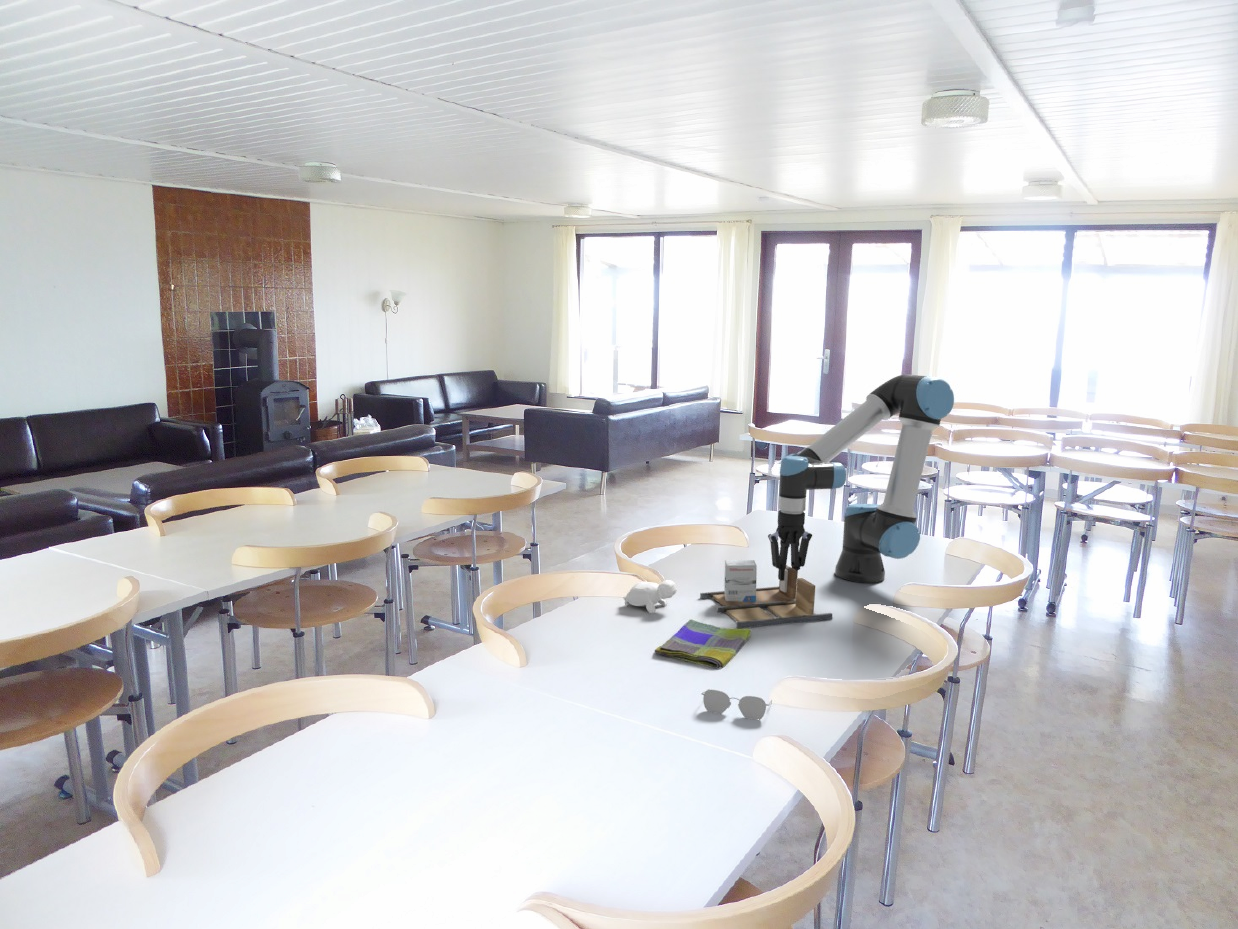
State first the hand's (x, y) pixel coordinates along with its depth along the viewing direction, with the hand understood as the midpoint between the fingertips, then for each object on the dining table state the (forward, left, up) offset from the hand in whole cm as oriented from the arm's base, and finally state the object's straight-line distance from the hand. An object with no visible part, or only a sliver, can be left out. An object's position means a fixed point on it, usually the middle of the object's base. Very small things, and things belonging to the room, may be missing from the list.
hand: (787, 590), depth 244 cm
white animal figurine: (+41, -2, -3) cm, 41 cm away
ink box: (+15, 0, -2) cm, 15 cm away
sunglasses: (+44, +59, -3) cm, 74 cm away
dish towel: (+37, +27, -3) cm, 46 cm away
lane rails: (+10, +6, -2) cm, 12 cm away
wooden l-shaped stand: (+11, +12, -2) cm, 17 cm away
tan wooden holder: (+10, 0, -2) cm, 10 cm away
